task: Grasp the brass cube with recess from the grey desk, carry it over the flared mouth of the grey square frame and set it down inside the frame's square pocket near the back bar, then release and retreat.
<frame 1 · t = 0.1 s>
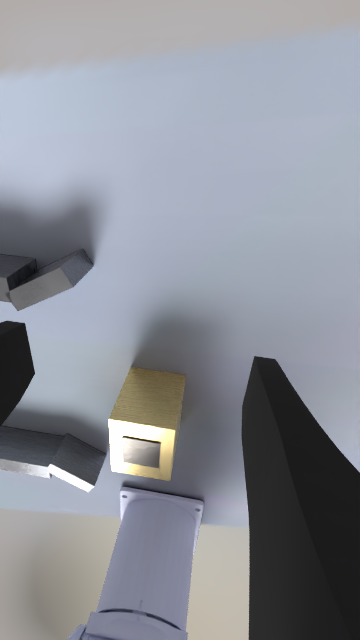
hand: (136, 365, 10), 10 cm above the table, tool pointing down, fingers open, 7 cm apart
brass cube with recess: (157, 395, 25), on the table
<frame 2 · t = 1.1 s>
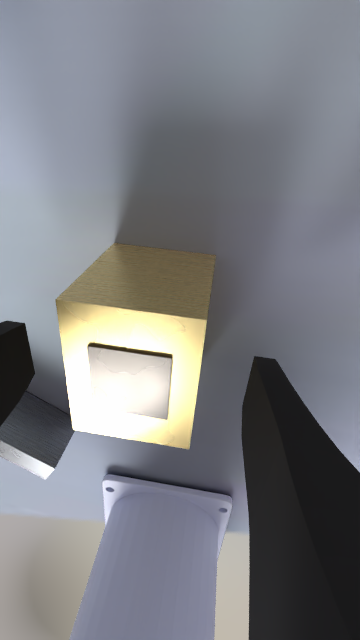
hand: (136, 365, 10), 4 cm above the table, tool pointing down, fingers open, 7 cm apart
brass cube with recess: (161, 305, 14), on the table
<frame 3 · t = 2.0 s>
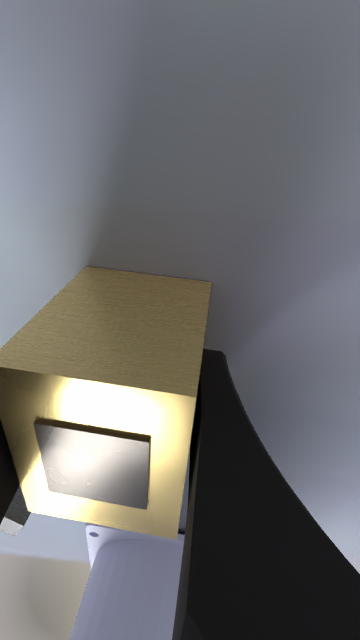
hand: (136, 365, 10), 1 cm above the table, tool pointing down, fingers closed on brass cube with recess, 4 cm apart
brass cube with recess: (146, 339, 12), on the table, touching gripper
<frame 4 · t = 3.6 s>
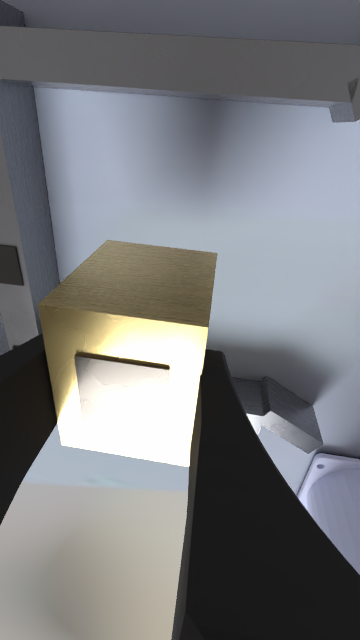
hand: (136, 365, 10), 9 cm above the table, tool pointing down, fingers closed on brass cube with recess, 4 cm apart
grey square frame: (158, 260, 18), on the table
brass cube with recess: (158, 307, 13), point 6 cm above the table, touching gripper
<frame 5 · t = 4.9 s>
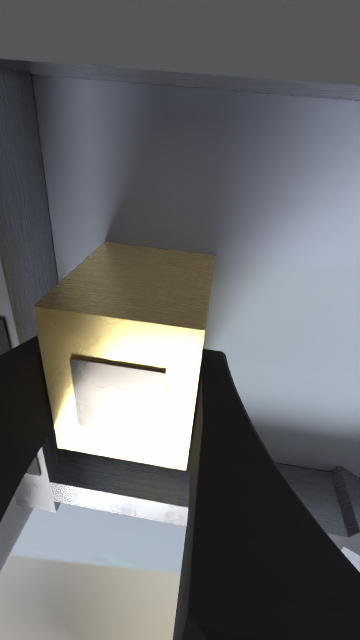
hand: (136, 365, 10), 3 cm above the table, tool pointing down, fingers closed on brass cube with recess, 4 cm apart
grey square frame: (207, 323, 13), on the table
brass cube with recess: (157, 309, 13), resting in grey square frame, touching gripper
power adapter: (6, 462, 20), on the table
when the fingers open (3 cm above the table, at t = 5.4 s): brass cube with recess stays where it is, resting in grey square frame.
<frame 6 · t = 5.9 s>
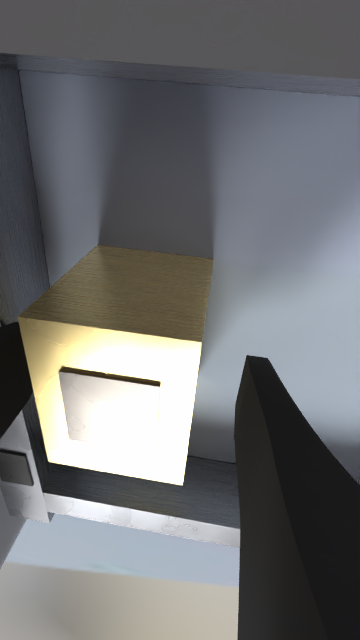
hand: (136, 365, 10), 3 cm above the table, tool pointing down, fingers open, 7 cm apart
grey square frame: (204, 329, 12), on the table
brass cube with recess: (152, 314, 12), resting in grey square frame
power adapter: (0, 469, 20), on the table
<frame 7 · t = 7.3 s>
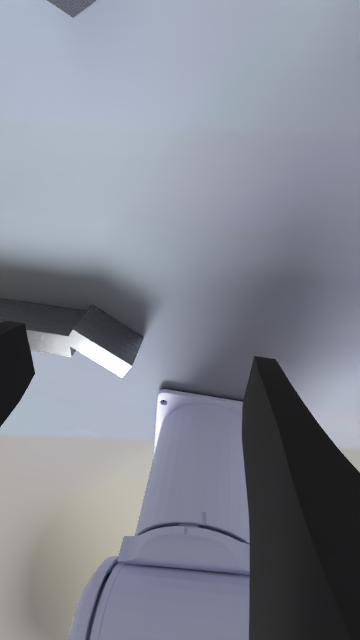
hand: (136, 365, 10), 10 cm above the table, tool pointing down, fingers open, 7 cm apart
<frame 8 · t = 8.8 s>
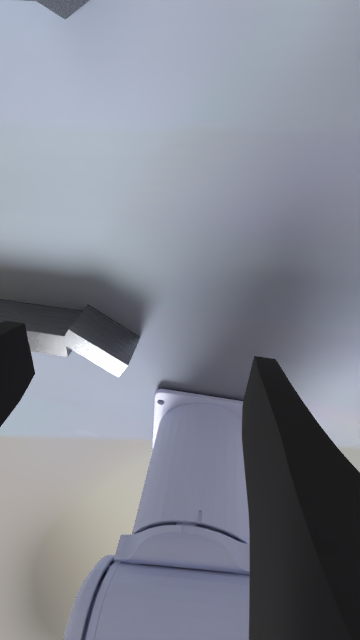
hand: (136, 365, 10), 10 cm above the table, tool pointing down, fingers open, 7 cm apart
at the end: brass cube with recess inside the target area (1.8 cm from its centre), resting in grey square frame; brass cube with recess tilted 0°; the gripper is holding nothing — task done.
